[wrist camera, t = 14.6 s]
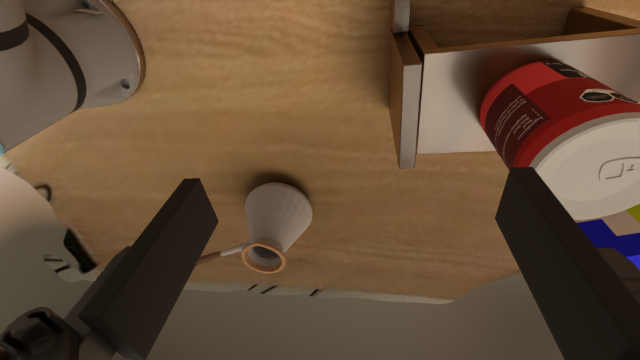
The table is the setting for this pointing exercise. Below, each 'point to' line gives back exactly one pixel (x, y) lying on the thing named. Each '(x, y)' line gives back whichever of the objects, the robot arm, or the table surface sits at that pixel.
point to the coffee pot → (270, 226)
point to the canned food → (567, 135)
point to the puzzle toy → (616, 232)
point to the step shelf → (491, 75)
